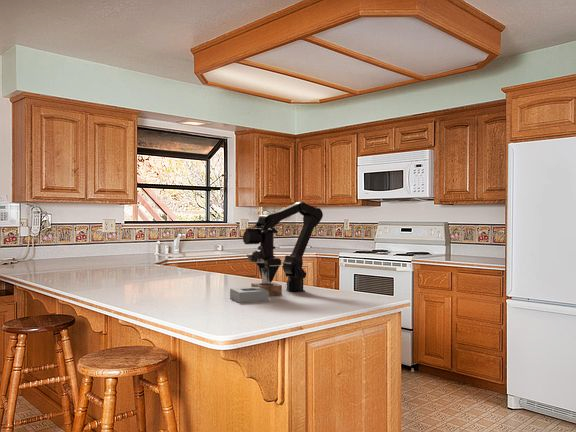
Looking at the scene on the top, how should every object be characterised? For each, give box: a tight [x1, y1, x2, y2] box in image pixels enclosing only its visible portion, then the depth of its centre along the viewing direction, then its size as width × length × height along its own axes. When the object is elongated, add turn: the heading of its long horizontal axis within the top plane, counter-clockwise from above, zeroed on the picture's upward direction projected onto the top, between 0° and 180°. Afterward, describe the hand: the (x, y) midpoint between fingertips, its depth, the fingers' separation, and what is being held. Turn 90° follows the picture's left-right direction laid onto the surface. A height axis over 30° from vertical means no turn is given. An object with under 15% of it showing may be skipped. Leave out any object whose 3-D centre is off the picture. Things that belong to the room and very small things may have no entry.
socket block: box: [229, 286, 270, 304], centre depth 206 cm, size 12×12×4 cm
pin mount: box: [250, 281, 283, 296], centre depth 222 cm, size 10×10×4 cm
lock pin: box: [261, 267, 271, 285], centre depth 222 cm, size 5×5×11 cm
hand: (266, 280), depth 222 cm, fingers open, 9 cm apart
